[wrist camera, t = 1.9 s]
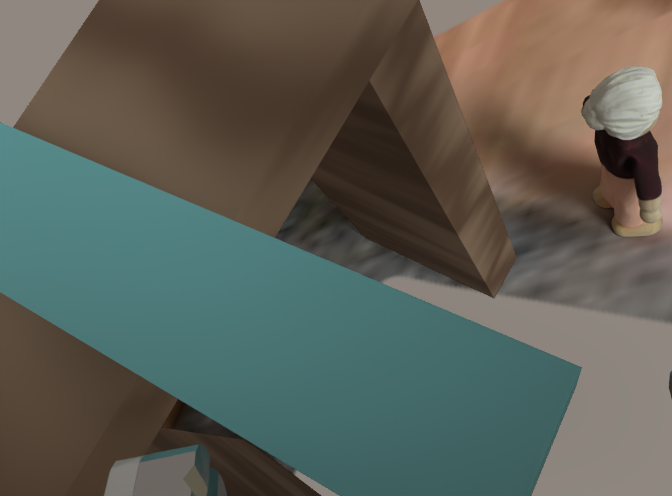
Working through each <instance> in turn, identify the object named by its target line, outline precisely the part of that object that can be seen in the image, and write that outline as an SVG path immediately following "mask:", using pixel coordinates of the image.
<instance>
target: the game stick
mask: <svg viewBox="0 0 672 496" xmlns="http://www.w3.org/2000/svg"><path fill="white" fill-rule="evenodd" d="M0 292H1V293H2V294H4V295H6V296H7V297H9V298H11V299H12V300H14V301H16V302H17V303H19V304H21V305H22V306H24V307H26V308H27V309H29V310H31V311H32V312H34V313H36V314H37V315H39V316H41V317H42V318H44V319H46V320H47V321H49V322H51V323H52V324H54V325H56V326H57V327H59V328H61V329H62V330H64V331H66V332H67V333H69V334H71V335H72V336H74V337H76V338H77V339H79V340H81V341H82V342H84V343H86V344H87V345H89V346H91V347H93V348H94V349H96V350H98V351H99V352H101V353H103V354H104V355H106V356H108V357H109V358H111V359H113V360H114V361H116V362H118V363H119V364H121V365H123V366H124V367H126V368H128V369H129V370H131V371H133V372H134V373H136V374H138V375H139V376H141V377H143V378H144V379H146V380H148V381H149V382H151V383H153V384H154V385H156V386H158V387H159V388H161V389H163V390H164V391H166V392H168V393H169V394H171V395H173V396H174V397H176V398H178V399H179V400H181V401H183V402H184V403H186V404H188V405H189V406H191V407H193V408H194V409H196V410H198V411H199V412H201V413H203V414H204V415H206V416H208V417H209V418H211V419H213V420H214V421H216V422H218V423H219V424H221V425H223V426H224V427H226V428H228V429H229V430H231V431H233V432H234V433H236V434H238V435H239V436H241V437H243V438H244V439H246V440H248V441H249V442H251V443H253V444H254V445H256V446H258V447H259V448H261V449H263V450H264V451H266V452H268V453H269V454H271V455H273V456H274V457H276V458H278V459H279V460H281V461H283V462H284V463H286V464H288V465H289V466H291V467H293V468H294V469H296V470H298V471H299V472H301V473H303V474H304V475H306V476H308V477H309V478H311V479H313V480H314V481H316V482H318V483H320V484H321V485H323V486H325V487H326V488H328V489H329V490H331V491H333V492H335V493H336V494H338V495H340V496H531V495H532V493H533V490H534V487H535V485H536V483H537V480H538V478H539V476H540V473H541V471H542V468H543V466H544V463H545V461H546V458H547V456H548V454H549V451H550V449H551V446H552V444H553V442H554V439H555V437H556V434H557V432H558V429H559V427H560V425H561V422H562V420H563V417H564V415H565V412H566V410H567V407H568V405H569V403H570V400H571V398H572V395H573V393H574V390H575V388H576V385H577V381H578V378H579V375H580V372H581V368H582V367H579V366H577V365H575V364H572V363H570V362H567V361H565V360H563V359H560V358H558V357H555V356H553V355H551V354H549V353H546V352H544V351H542V350H539V349H537V348H534V347H532V346H530V345H527V344H525V343H522V342H520V341H518V340H515V339H513V338H511V337H508V336H506V335H503V334H501V333H499V332H496V331H494V330H492V329H489V328H487V327H485V326H482V325H480V324H477V323H475V322H473V321H470V320H468V319H466V318H463V317H461V316H459V315H456V314H453V313H451V312H449V311H447V310H444V309H442V308H439V307H437V306H435V305H432V304H430V303H428V302H425V301H423V300H421V299H418V298H416V297H413V296H411V295H409V294H406V293H404V292H402V291H399V290H397V289H394V288H392V287H390V286H387V285H385V284H383V283H380V282H378V281H375V280H373V279H371V278H368V277H366V276H364V275H361V274H359V273H357V272H354V271H352V270H349V269H347V268H345V267H342V266H340V265H338V264H335V263H333V262H330V261H328V260H326V259H323V258H321V257H319V256H316V255H314V254H311V253H309V252H307V251H304V250H302V249H300V248H297V247H295V246H292V245H290V244H288V243H285V242H283V241H281V240H278V239H276V238H273V237H271V236H269V235H266V234H264V233H262V232H259V231H257V230H255V229H252V228H250V227H247V226H245V225H243V224H240V223H238V222H236V221H233V220H231V219H228V218H226V217H224V216H221V215H219V214H217V213H214V212H212V211H209V210H207V209H205V208H202V207H200V206H198V205H195V204H193V203H190V202H188V201H186V200H183V199H181V198H179V197H176V196H174V195H171V194H169V193H167V192H164V191H162V190H160V189H157V188H155V187H153V186H150V185H148V184H145V183H143V182H141V181H138V180H136V179H134V178H131V177H129V176H126V175H124V174H122V173H119V172H117V171H115V170H112V169H110V168H107V167H105V166H103V165H100V164H98V163H96V162H93V161H91V160H88V159H86V158H84V157H81V156H79V155H77V154H74V153H72V152H69V151H67V150H65V149H62V148H60V147H58V146H55V145H53V144H51V143H48V142H46V141H43V140H41V139H39V138H36V137H34V136H32V135H29V134H27V133H24V132H22V131H20V130H17V129H15V128H13V127H10V126H8V125H5V124H3V123H1V122H0Z"/></svg>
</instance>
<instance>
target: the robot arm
mask: <svg viewBox="0 0 672 496" xmlns="http://www.w3.org/2000/svg"><path fill="white" fill-rule="evenodd" d="M669 389H670V393H671V397H672V371H671V372H670V380H669ZM104 496H227V492H226V489H225V486H224V482H223V480H222V478H221V476H220V474H219V472H218V471H216V470H214V469H212V468H210V454H209V453H208V451H207V449H206V448H205V446H204V444H199V445H193V446H188V447H183V448H178V449H173V450H168V451H162V452H157V453H152V454H147V455H143V456H138V457H133V458H128V459H123V460H119V461H116V462H115V463H114V465H113V466H112V468H111V470H110V472H109V477H108V481H107V485H106V489H105V493H104Z"/></svg>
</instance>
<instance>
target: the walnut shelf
mask: <svg viewBox="0 0 672 496" xmlns="http://www.w3.org/2000/svg"><path fill="white" fill-rule="evenodd" d="M13 128H15V129H17V130H20V131H22V132H24V133H27V134H29V135H32V136H34V137H36V138H39V139H41V140H43V141H46V142H48V143H51V144H53V145H55V146H58V147H60V148H62V149H65V150H67V151H69V152H72V153H74V154H77V155H79V156H81V157H84V158H86V159H88V160H91V161H93V162H96V163H98V164H100V165H103V166H105V167H107V168H110V169H112V170H115V171H117V172H119V173H122V174H124V175H126V176H129V177H131V178H134V179H136V180H138V181H141V182H143V183H145V184H148V185H150V186H153V187H155V188H157V189H160V190H162V191H164V192H167V193H169V194H171V195H174V196H176V197H179V198H181V199H183V200H186V201H188V202H190V203H193V204H195V205H198V206H200V207H202V208H205V209H207V210H209V211H212V212H214V213H217V214H219V215H221V216H224V217H226V218H228V219H231V220H233V221H236V222H238V223H240V224H243V225H245V226H247V227H250V228H252V229H255V230H257V231H259V232H262V233H264V234H266V235H269V236H271V237H273V238H275V237H276V235H277V234H278V232H279V230H280V229H281V227H282V225H283V224H284V222H285V220H286V219H287V217H288V215H289V214H290V212H291V210H292V209H293V207H294V205H295V204H296V202H297V200H298V199H299V197H300V195H301V194H302V192H303V190H304V189H305V187H306V185H307V184H308V182H309V180H310V179H311V180H312V181H313V182H314V183H315V184H316V185H317V186H318V187H319V188H320V189H321V190H322V191H323V192H324V193H325V195H326V196H327V197H328V198H329V199H330V200H331V201H332V202H333V203H334V204H335V205H336V206H337V207H338V208H339V209H340V211H341V212H342V213H343V214H344V215H345V216H346V217H347V218H348V219H349V220H350V221H351V222H352V223H353V224H354V225H355V226H356V228H357V229H358V230H359V231H360V232H361V233H362V234H363V235H364V236H365V237H366V238H368V239H370V240H372V241H374V242H376V243H378V244H380V245H382V246H385V247H387V248H389V249H391V250H393V251H395V252H397V253H399V254H401V255H404V256H406V257H408V258H410V259H412V260H414V261H416V262H418V263H420V264H423V265H425V266H427V267H429V268H431V269H433V270H435V271H437V272H439V273H442V274H444V275H446V276H448V277H450V278H452V279H454V280H456V281H458V282H461V283H463V284H465V285H467V286H469V287H471V288H473V289H475V290H477V291H480V292H482V293H484V294H486V295H488V296H490V297H492V298H495V296H496V294H497V293H498V291H499V289H500V287H501V285H502V283H503V282H504V280H505V278H506V276H507V274H508V272H509V270H510V269H511V267H512V265H513V263H514V261H515V259H516V258H517V257H516V254H515V252H514V249H513V247H512V244H511V241H510V239H509V236H508V233H507V231H506V228H505V225H504V223H503V220H502V217H501V215H500V212H499V209H498V207H497V204H496V202H495V199H494V196H493V194H492V191H491V188H490V186H489V183H488V180H487V178H486V175H485V172H484V170H483V167H482V165H481V162H480V159H479V157H478V154H477V151H476V149H475V146H474V143H473V141H472V138H471V135H470V133H469V130H468V128H467V125H466V122H465V120H464V117H463V114H462V112H461V109H460V106H459V104H458V101H457V98H456V96H455V93H454V91H453V88H452V85H451V83H450V80H449V77H448V75H447V72H446V69H445V67H444V64H443V61H442V59H441V56H440V54H439V51H438V48H437V46H436V43H435V40H434V38H433V35H432V32H431V30H430V27H429V24H428V22H427V19H426V16H425V14H424V11H423V9H422V6H421V3H420V1H419V0H99V1H98V3H97V4H96V6H95V8H94V9H93V10H92V12H91V13H90V15H89V16H88V18H87V19H86V20H85V22H84V23H83V25H82V26H81V28H80V29H79V31H78V33H77V34H76V35H75V37H74V38H73V40H72V41H71V43H70V44H69V46H68V47H67V49H66V50H65V52H64V53H63V55H62V56H61V58H60V59H59V60H58V62H57V63H56V65H55V66H54V68H53V69H52V71H51V72H50V74H49V75H48V77H47V78H46V80H45V81H44V83H43V84H42V86H41V87H40V89H39V90H38V92H37V93H36V95H35V96H34V98H33V99H32V101H31V102H30V103H29V105H28V106H27V108H26V109H25V111H24V112H23V114H22V115H21V117H20V118H19V120H18V121H17V123H16V124H15V126H14V127H13ZM177 400H178V398H176V397H174V396H173V395H171V394H169V393H168V392H166V391H164V390H163V389H161V388H159V387H158V386H156V385H154V384H153V383H151V382H149V381H148V380H146V379H144V378H143V377H141V376H139V375H138V374H136V373H134V372H133V371H131V370H129V369H128V368H126V367H124V366H123V365H121V364H119V363H118V362H116V361H114V360H113V359H111V358H109V357H108V356H106V355H104V354H103V353H101V352H99V351H98V350H96V349H94V348H93V347H91V346H89V345H87V344H86V343H84V342H82V341H81V340H79V339H77V338H76V337H74V336H72V335H71V334H69V333H67V332H66V331H64V330H62V329H61V328H59V327H57V326H56V325H54V324H52V323H51V322H49V321H47V320H46V319H44V318H42V317H41V316H39V315H37V314H36V313H34V312H32V311H31V310H29V309H27V308H26V307H24V306H22V305H21V304H19V303H17V302H16V301H14V300H12V299H11V298H9V297H7V296H6V295H4V294H2V293H1V292H0V496H104V493H105V489H106V485H107V481H108V477H109V472H110V470H111V468H112V466H113V465H114V463H115V462H116V461H119V460H123V459H128V458H133V457H138V456H143V455H147V454H152V453H157V452H162V451H168V450H173V449H178V448H183V447H188V446H193V445H199V444H204V446H205V448H206V449H207V451H208V453H209V454H210V468H212V469H214V470H216V471H218V472H219V474H220V476H221V478H222V480H223V482H224V486H225V489H226V492H227V496H321V495H320V494H318V493H317V492H316V491H314V490H313V489H311V488H310V487H309V486H308V485H306V484H305V483H304V482H302V481H301V480H300V479H299V478H297V477H296V476H295V475H293V474H292V473H291V472H289V471H288V470H287V469H285V468H284V467H283V466H281V465H280V464H279V463H277V462H276V461H275V460H274V459H272V458H271V457H270V456H268V455H267V454H266V453H264V452H263V451H262V450H260V449H259V448H258V447H256V446H255V445H254V444H252V443H251V442H249V441H248V440H242V439H235V438H228V437H222V436H215V435H208V434H201V433H195V432H188V431H181V430H174V429H168V428H161V427H162V425H163V423H164V422H165V420H166V418H167V417H168V415H169V413H170V412H171V410H172V408H173V407H174V405H175V403H176V402H177Z"/></svg>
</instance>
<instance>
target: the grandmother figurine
mask: <svg viewBox="0 0 672 496" xmlns="http://www.w3.org/2000/svg"><path fill="white" fill-rule="evenodd" d="M661 106H662V91H661V88H660V84H659V83H658V80H657V77H656V75H655V72H654V71H653V70H651V69H650V68H646V67H639V66H635V67H627V68H624V69H622V70H620V71H618V72H616V73H614V74H612V75H610V76H608V77H607V78H605V79H604V80H603V81H602V82H601V83H600V84H599V85H598V86H597V87H596V88H595V89H593V90H592V92H591V95H589V96H587V97H586V98H585V99H584V102H583V107H582V110H581V113H582V116H583V117H584V119H585V120H586V122H587V124H588V126H589V127H590V128H592V129H594V130H595V145H596V149H597V153H598V156H599V159H600V162H601V163H602V166H601V184H600V185H599V186H598V187H596V188H595V190H594V191H593V199H594V201H595V202H596V203H597V204H598V205H599V206H600V207H603V208H610V207H613V208H614V213H615V216H614V217H613V218H612V222H611V223H612V228H613V230H614V232H615V233H616V234H617V235H619V236H622V237H631V236H648V235H652V234H655V233H656V232H658V231H659V230H660V228H661V226H662V216H661V215H662V211H661V208H660V205H661V192H662V187H661V180H660V177H659V172H658V156H657V155H658V145H657V142H656V140H655V139H654V137H653V136H652V134H651V132H650V130H651V129H652V128H653V127H654V125H655V124H656V122H657V120H658V118H659V115H660V109H661Z"/></svg>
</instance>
